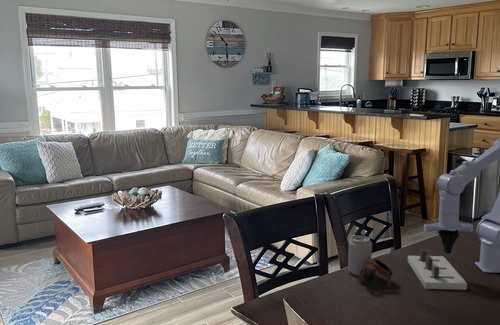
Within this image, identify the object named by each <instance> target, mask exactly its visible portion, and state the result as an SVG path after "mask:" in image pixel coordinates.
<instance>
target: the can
mask: <svg viewBox="0 0 500 325" xmlns="http://www.w3.org/2000/svg"><path fill="white" fill-rule="evenodd" d="M372 254H373V242H372V241H371V238H370V237H368V236H366V235H353V236H351V237H350V240H349V241H348V257H347V258H348V261H347V262H348V263H347V264H348V268H347V270H348V272H349V273H350V274H351V275H353V276H356V277H359V274H360V271H361V269H362V267H363V266H364V265H365V264H366V263H368V262H371V261H372V260H373V256H372ZM366 270H367V269H366Z"/></svg>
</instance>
